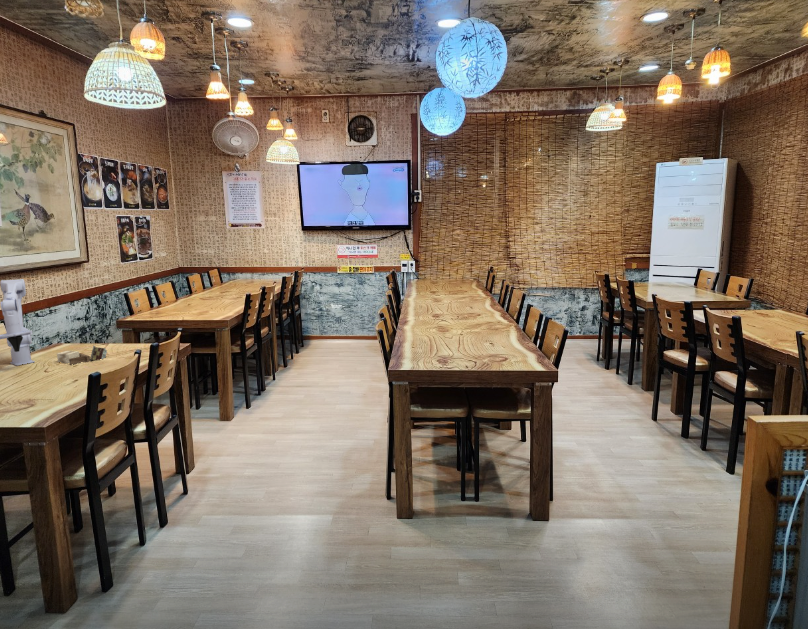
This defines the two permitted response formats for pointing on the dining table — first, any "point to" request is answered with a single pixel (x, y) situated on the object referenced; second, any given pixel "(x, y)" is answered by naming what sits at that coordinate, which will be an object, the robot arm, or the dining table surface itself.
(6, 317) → the robot arm
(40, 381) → the dining table surface
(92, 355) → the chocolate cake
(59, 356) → the maple block
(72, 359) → the walnut stop
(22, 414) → the dining table surface
